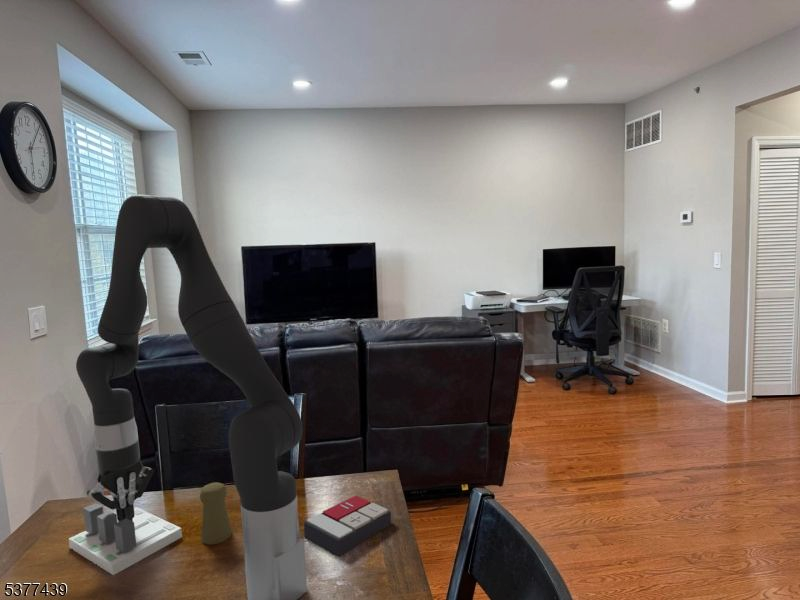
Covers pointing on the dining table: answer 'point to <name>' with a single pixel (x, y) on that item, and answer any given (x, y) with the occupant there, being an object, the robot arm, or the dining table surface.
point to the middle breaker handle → (106, 527)
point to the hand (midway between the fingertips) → (126, 522)
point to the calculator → (346, 525)
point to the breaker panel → (149, 539)
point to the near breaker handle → (125, 535)
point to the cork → (214, 514)
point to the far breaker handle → (92, 517)
